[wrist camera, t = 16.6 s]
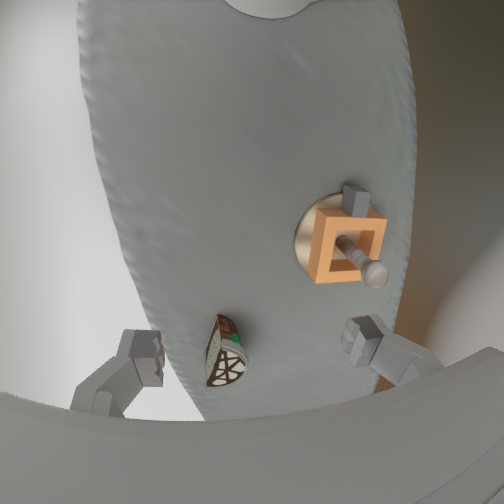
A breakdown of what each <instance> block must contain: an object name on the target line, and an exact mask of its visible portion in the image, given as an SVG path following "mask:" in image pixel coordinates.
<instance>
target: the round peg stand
mask: <svg viewBox="0 0 504 504" xmlns="http://www.w3.org/2000/svg"><path fill="white" fill-rule="evenodd" d="M342 195H343V193H336V194H331V195H328V196H326V197H324V198H322V199H320V200H318V201H317V202H315V203H314V204H313V205H312V206H311V207H310V208H309V209H308V210H307V211H306V212H305V214H304V215H303V216H302V218H301V220H300V222H299V224H298V226H297V229H296V232H295V237H294V250H295V255H296V257H297V260H298V262H299V263H300V265H301V267H302V268H303V270H304V271H305V272H306V273H307V274H308V275H309V273H308V272H307V268H308V262H309V256H310V249H311V243H312V236H313V229H314V222H315V215H316V208H325V209H340V208H341V202H342ZM368 211H375V210H374V208H373V207H372V206H371V205H370V204H369V207H368ZM360 234H361V230H337V232H336V237H335V243H334V248H333V254H332V259H331V260H337V259H349V260H350V261H351V262H352V263H353V264H354V265H355V266H356V268H357V269H358V270H359V271H360V272H361V280H362V282H363V284H364V285H365V286H366V287H368V288H370V289H379V288H381V287H383V286H384V285H385V284H386V282H387V280H388V277H389V272H388V268H387V266H386V265H385V264H384V263H383V262H381V261H379V260H372V259H371V258H369V257H368V256H367V255H366V254H365V253H364V252H363V251H362V250H361V249H360V248H359V247H358V244H359V239H360ZM309 276H310V275H309Z"/></svg>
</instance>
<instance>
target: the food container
mask: <svg viewBox="0 0 504 504" xmlns="http://www.w3.org/2000/svg"><path fill="white" fill-rule="evenodd" d="M248 362H249V359H248V355H247V353H246V351H245V350H244V349H243V348H242V347H241V344H240V340H239V337H238V334H237V330H236V327H235V325H234V323H233V322H232V321H231V320H230V319H228V318H227V317H225V316H222V315H219V314H217V315H216V318H215V321H214V324H213V327H212V330H211V333H210V336H209V339H208V342H207V345H206V348H205V375H206V383H205V389H206V391H219V390H224V389H228V388H231V387H233V386H235V385H237V384H238V383H239V382H241V381H242V380H243V379H244V377H245V375H246V373H247V370H248Z"/></svg>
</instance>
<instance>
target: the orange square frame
mask: <svg viewBox="0 0 504 504" xmlns="http://www.w3.org/2000/svg"><path fill="white" fill-rule="evenodd" d="M370 195H371V192H369V191H367V190H365V189H363V188H361V187H359V186H352V185H344V188H343V195H342V202H341V208H340V209H325V208H316V215H315V222H314V229H313V236H312V243H311V249H310V256H309V262H308V268H307V272H308V273H309V275H310V276H311V278H312V279H313V281H314V283H315V284H316V283H331V282H345V281H358V280H361V272H360V271H359V270H358V269H357V268H356V266H355V265H354V264H353V263H352V262H351V261H350V260H349V259H337V260H331V259H332V254H333V248H334V243H335V237H336V232H337V230H361V234H360V239H359V244H358V247H359V248H360V249H361V250H362V251H363V252H364V253H365V254H366V255H367V256H368V257H369V258H371V259H372V260H378V257H379V253H380V249H381V245H382V241H383V237H384V233H385V228H386V224H387V218H385V217H383V216H382V215H380V214H379V213H377V212H376V211H368V207H369V201H370Z"/></svg>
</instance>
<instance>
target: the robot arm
mask: <svg viewBox="0 0 504 504" xmlns="http://www.w3.org/2000/svg"><path fill="white" fill-rule="evenodd" d="M225 1H226V2H227V3H228V4H229V5H231V6H232V7H233V8H235V9H237V10H239V11H241V12H243V13H245V14H248V15H251V16H255V17H260V18H284V17H288V16H292V15H294V14H296V13H298V12H300V11H302V10H303V9H304V8H305V7H306V6H307V5H308V4H310V3H311V2H315V1H319V0H225ZM345 326H346V329H345V331H344V332H343V333H342V336H341V344H342V348H343V350H344V352H346V353H348V354H349V357H348V359H349V361H350V362H351V364H352V366H353V368H358V367H363V366H368V365H369V366H370V367H371V368H373V369H374V370H375V371H377V372H378V373H379V374H381V375H383V376H384V377H385V378H386V379H388V380H389V381H390V382H392V383H393V384H395V385H396V387H394V388H391V389H388V390H385V391H382V392H379V393H376V394H372V395H369V396H365V397H362V398H358V399H354V400H350V401H347V402H343V403H338V404H334V405H330V406H325V407H321V408H316V409H311V410H305V411H300V412H294V413H287V414H281V415H273V416H265V417H257V418H247V419H234V420H218V421H156V420H140V419H129V418H125V417H124V415H123V412H124V411H125V409H126V408H127V407H128V406H129V404H130V403H131V402H132V401H133V399H134V398H135V397H136V396H137V394H138V393H139V392H140V391H141V390H142V388H143V387H162V386H163V375H164V374H163V371H162V368H163V367H164V364H165V353H164V347H163V345H162V344H161V334H160V331H159V330H130V329H125V330H124V331H123V334H122V337H121V341H120V344H119V347H118V351H117V355H116V357H112V358H111V359H109V360H108V361H107V362H106V363H105V364H103V365H102V366H101V367H100V368H98V369H97V370H96V371H95V372H94V373H92V374H91V375H90V376H89V377H88V378H86V380H84V381H83V382H82V383H81V384H79V385H78V386H77V387H76V390H75V393H74V396H73V400H72V403H71V406H70V410H68V409H63V408H59V407H55V406H50V405H46V404H43V403H38V402H35V401H32V400H28V399H25V398H21V397H18V396H15V395H13V394H9V393H7V392H0V504H504V352H502V351H499V350H497V349H495V348H492V347H487V348H484V349H482V350H480V351H478V352H476V353H475V354H473V355H471V356H469V357H467V358H465V359H463V360H461V361H459V362H456V363H454V364H452V365H450V366H448V367H446V368H445V367H444V365H443V364H442V363H441V362H440V360H439V359H438V358H437V356H436V355H435V354H434V353H433V352H431V351H429V350H427V349H425V348H423V347H421V346H419V345H417V344H415V343H413V342H411V341H409V340H407V339H405V338H403V337H401V336H399V335H397V334H393V333H392V332H391V330H390V329H389V328H388V327H387V325H386V324H385V323H384V321H383V320H382V319H381V318H380V316H379V315H378V314H371V315H367V316H359V317H353V318H348V319H347V321H346V324H345Z"/></svg>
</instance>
